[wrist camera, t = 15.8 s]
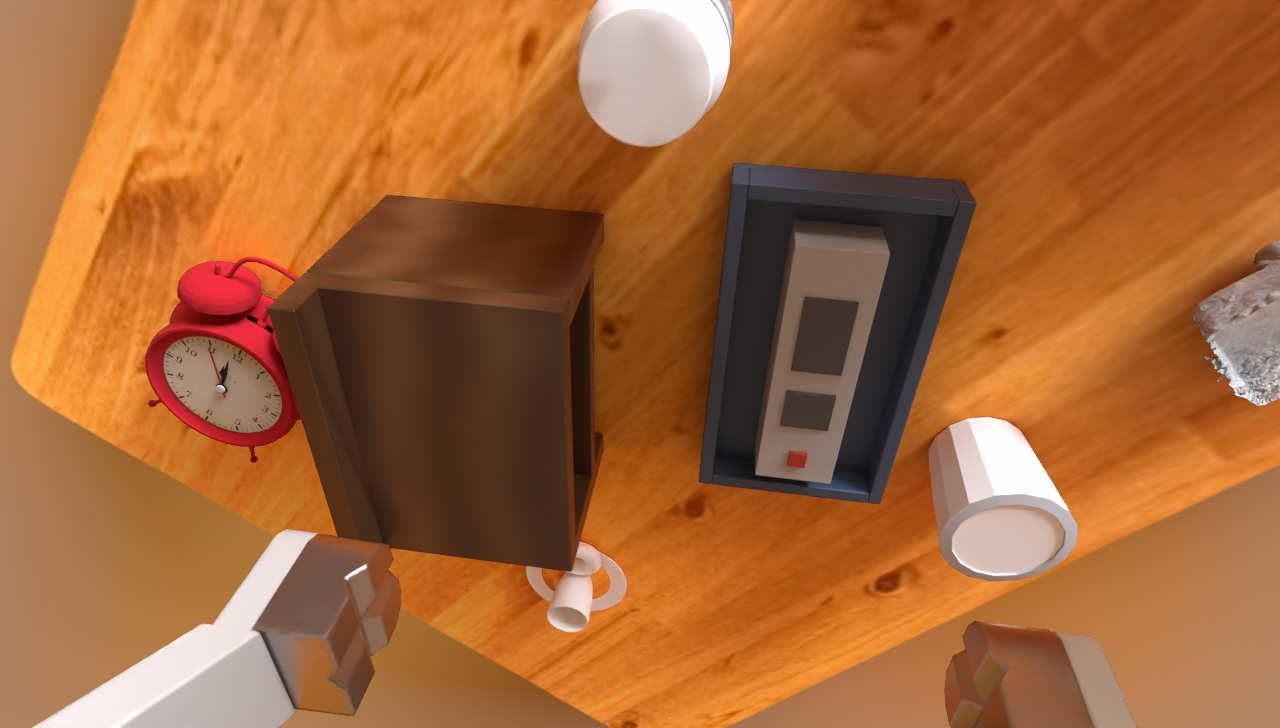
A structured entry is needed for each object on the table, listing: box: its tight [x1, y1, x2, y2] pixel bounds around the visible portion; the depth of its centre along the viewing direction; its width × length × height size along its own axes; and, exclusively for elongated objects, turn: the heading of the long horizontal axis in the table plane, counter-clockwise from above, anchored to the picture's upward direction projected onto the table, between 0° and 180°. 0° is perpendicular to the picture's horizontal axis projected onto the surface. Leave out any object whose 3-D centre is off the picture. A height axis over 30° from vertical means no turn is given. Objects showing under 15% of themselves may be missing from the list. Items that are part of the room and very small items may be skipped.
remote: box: [755, 219, 890, 484], centre depth 40 cm, size 15×4×3 cm, turn 178°
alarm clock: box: [145, 257, 301, 463], centre depth 45 cm, size 10×6×15 cm
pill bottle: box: [578, 0, 734, 147], centre depth 29 cm, size 6×6×10 cm
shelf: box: [267, 195, 604, 572], centre depth 39 cm, size 12×17×12 cm
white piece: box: [526, 542, 627, 632], centre depth 55 cm, size 9×8×4 cm
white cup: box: [928, 417, 1078, 581], centre depth 42 cm, size 7×7×7 cm
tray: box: [699, 163, 977, 504], centre depth 40 cm, size 11×20×3 cm, turn 178°
